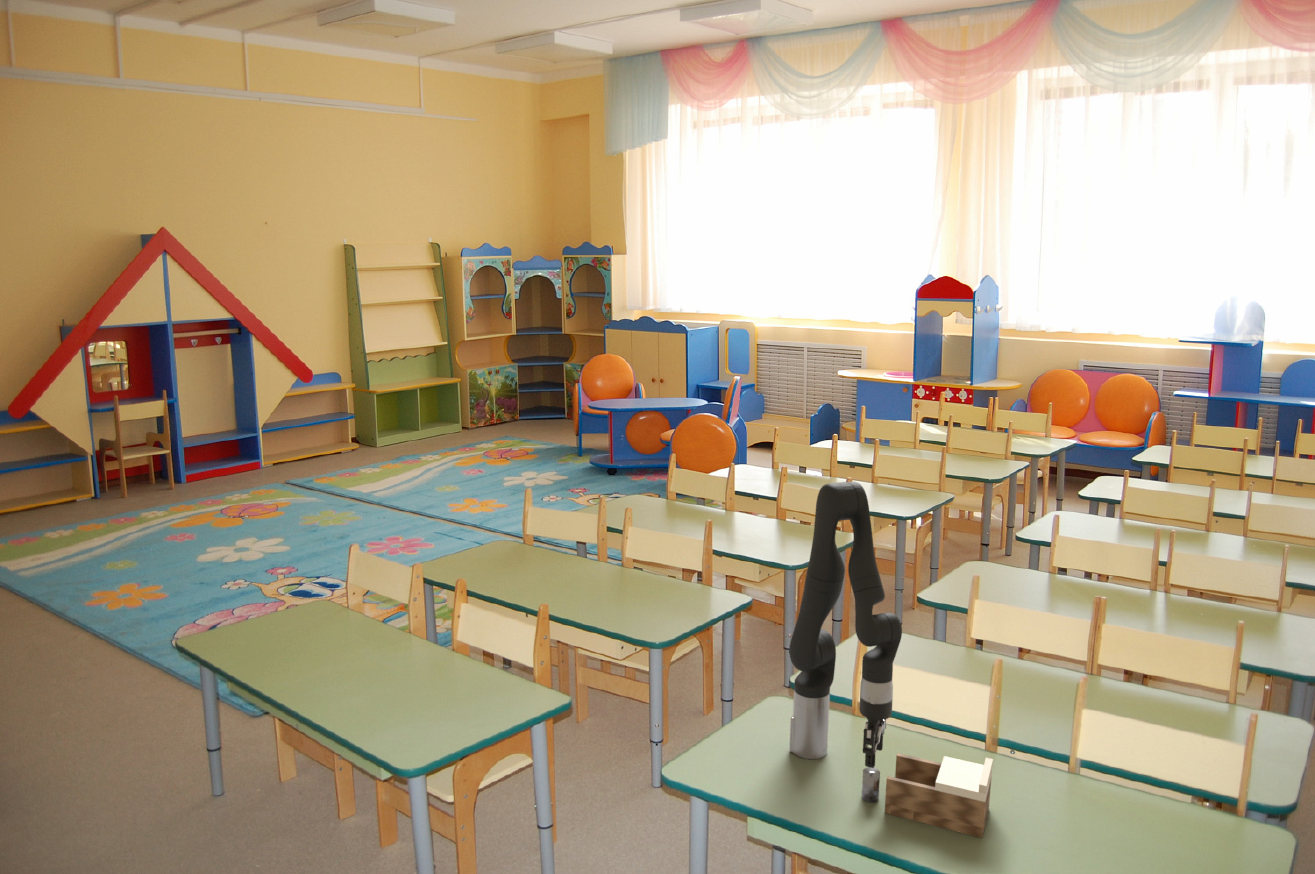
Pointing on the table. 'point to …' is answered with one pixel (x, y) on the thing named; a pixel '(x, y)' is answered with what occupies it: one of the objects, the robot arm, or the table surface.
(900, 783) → the box
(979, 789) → the lid
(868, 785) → the silver metal cylinder
